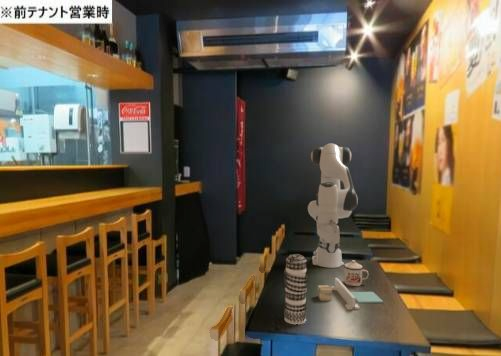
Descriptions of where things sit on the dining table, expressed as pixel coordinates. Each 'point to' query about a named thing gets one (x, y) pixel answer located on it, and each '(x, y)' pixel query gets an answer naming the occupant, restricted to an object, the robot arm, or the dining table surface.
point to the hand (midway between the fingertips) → (327, 249)
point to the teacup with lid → (353, 274)
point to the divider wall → (345, 295)
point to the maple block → (325, 293)
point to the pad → (366, 297)
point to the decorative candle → (295, 289)
